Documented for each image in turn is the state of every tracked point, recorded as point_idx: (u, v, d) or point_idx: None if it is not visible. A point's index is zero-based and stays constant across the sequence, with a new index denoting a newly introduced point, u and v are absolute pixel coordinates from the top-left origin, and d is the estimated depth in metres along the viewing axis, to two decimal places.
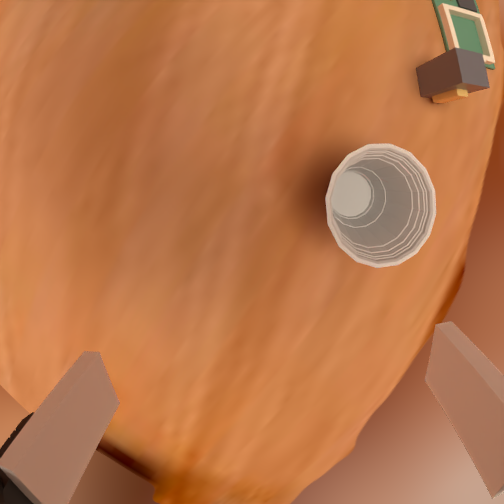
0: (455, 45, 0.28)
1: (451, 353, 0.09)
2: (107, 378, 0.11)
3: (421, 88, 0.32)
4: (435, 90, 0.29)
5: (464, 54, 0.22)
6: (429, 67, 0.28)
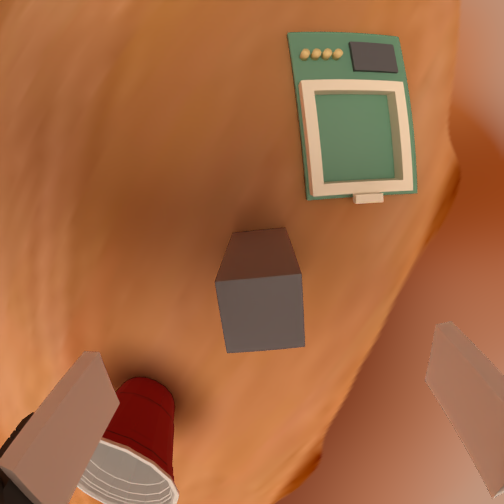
0: (314, 178, 0.21)
1: (451, 353, 0.09)
2: (107, 378, 0.11)
3: None
4: None
5: (240, 291, 0.15)
6: None
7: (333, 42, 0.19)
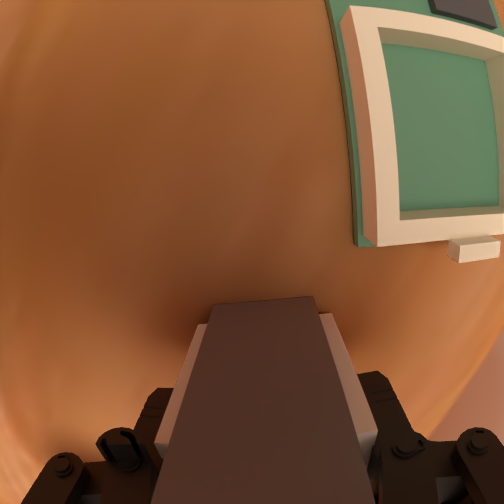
0: (381, 208, 0.09)
1: None
2: None
3: None
4: None
5: None
6: None
7: None
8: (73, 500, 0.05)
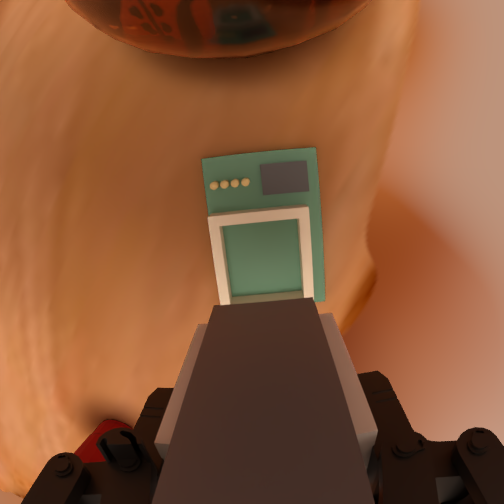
0: (222, 300, 0.26)
1: None
2: None
3: None
4: None
5: None
6: None
7: (244, 165, 0.24)
8: (73, 501, 0.05)
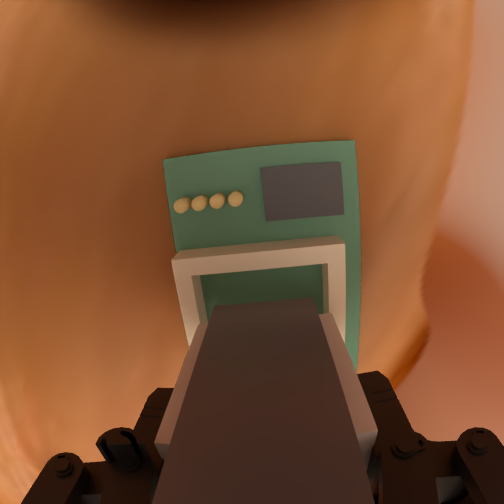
0: None
1: None
2: None
3: None
4: None
5: None
6: None
7: (234, 170, 0.14)
8: (73, 500, 0.05)
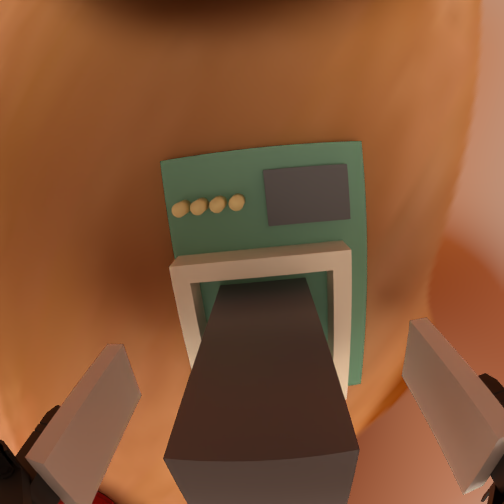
0: None
1: (424, 349, 0.10)
2: (130, 370, 0.12)
3: None
4: None
5: (221, 476, 0.06)
6: None
7: (235, 172, 0.14)
8: None
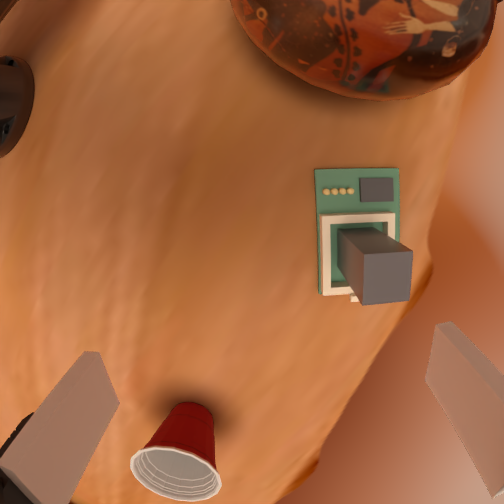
0: (324, 284, 0.32)
1: (451, 353, 0.09)
2: (107, 378, 0.11)
3: (338, 258, 0.32)
4: (345, 277, 0.29)
5: (378, 261, 0.22)
6: (344, 244, 0.28)
7: (347, 178, 0.30)
8: None
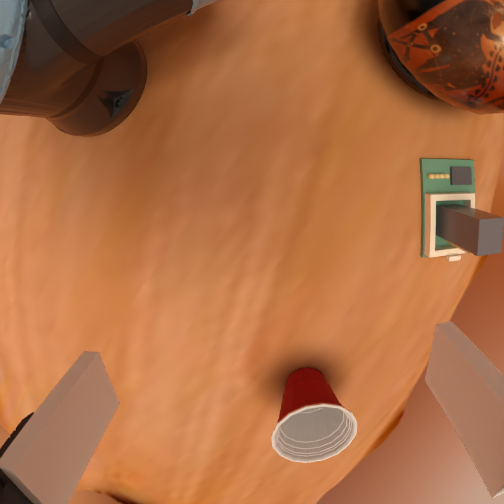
0: (430, 248, 0.36)
1: (451, 353, 0.09)
2: (107, 378, 0.11)
3: (437, 227, 0.37)
4: (450, 241, 0.34)
5: (486, 224, 0.27)
6: (449, 215, 0.33)
7: (442, 166, 0.35)
8: None
